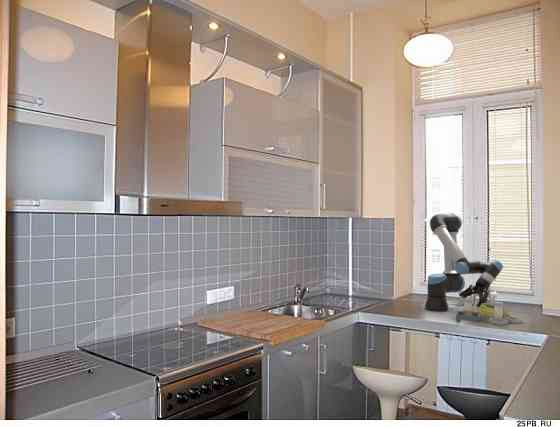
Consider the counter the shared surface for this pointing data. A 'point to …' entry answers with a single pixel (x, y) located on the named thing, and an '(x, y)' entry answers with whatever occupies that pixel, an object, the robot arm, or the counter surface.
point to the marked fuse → (468, 306)
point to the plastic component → (489, 311)
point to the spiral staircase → (490, 295)
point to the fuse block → (506, 321)
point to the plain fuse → (498, 311)
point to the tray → (464, 317)
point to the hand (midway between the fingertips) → (464, 308)
